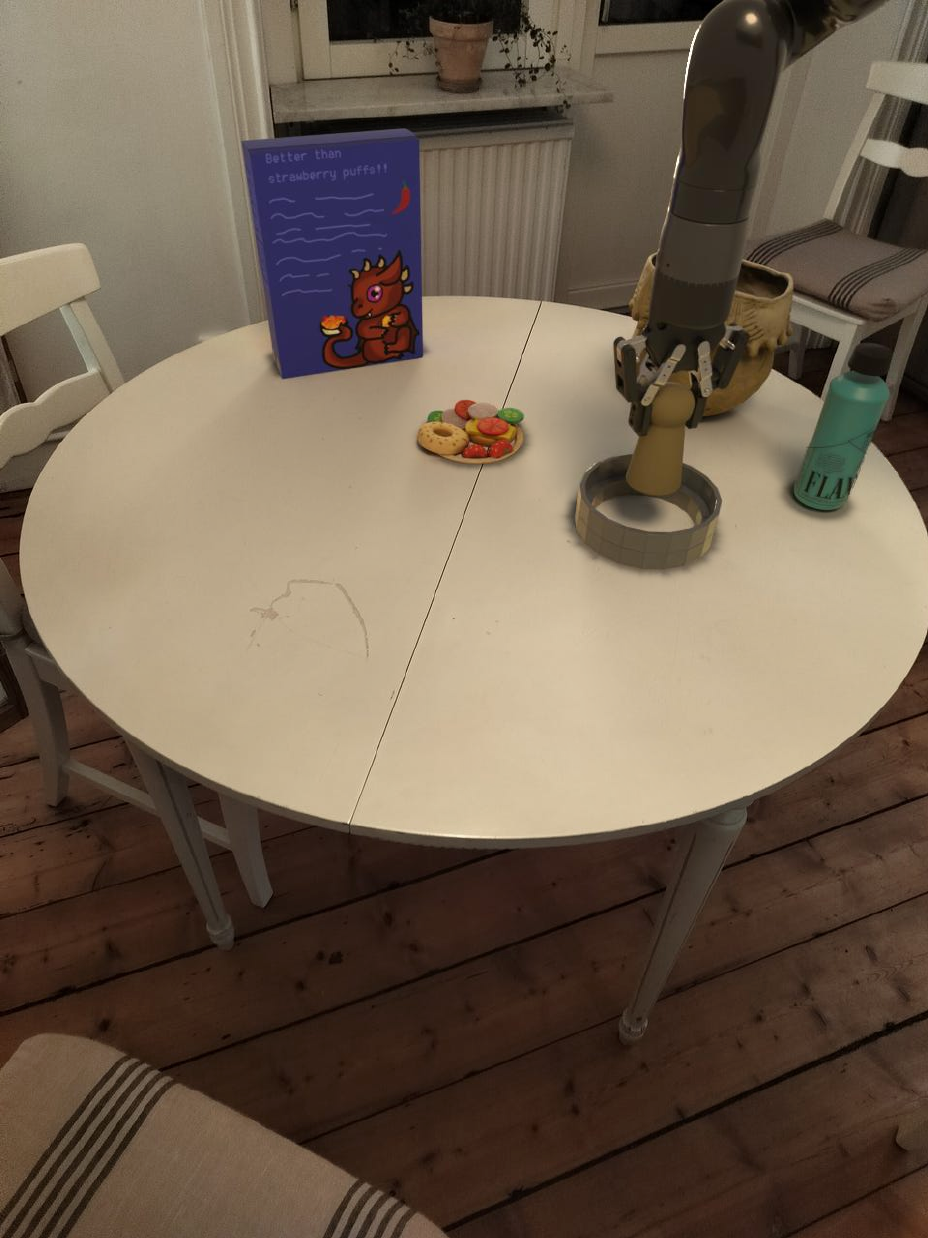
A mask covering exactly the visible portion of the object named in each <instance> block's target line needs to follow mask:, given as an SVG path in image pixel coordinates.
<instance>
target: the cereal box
mask: <svg viewBox="0 0 928 1238" xmlns="http://www.w3.org/2000/svg"><path fill="white" fill-rule="evenodd" d="M240 142H241V148H242V154H243V155H242V156H243V161H244V168H245V169H244V170H245V174H246V175H245V176H246V181H247V189H248V195H249V201H250V202H249V203H250V208H251V217H252V222H253V229H254V237H255V242H256V248H257V255H258V262H259V270H260V276H261V282H262V288H263V296H264V302H265V310H266V316H267V317H266V318H267V322H268V329H269V336H270V343H271V349H272V356H273V362H274V364H275V366H276V368H277V371H278V373H279V375H280V378H281V379H282V380H285V379H293V378H299V377H305V376H312V375H317V374H325V373H330V372H338V371H344V370H350V369H357V368H363V367H369V366H377V365H382V364H389V363H394V362H402V361H408V360H414V359H415V360H416V359H421V358H423V357H424V330H423V329H424V325H423V321H424V320H423V275H422V274H423V272H422V269H423V268H422V226H421V225H422V215H421V214H422V213H421V210H422V209H421V161H420V157H421V156H420V138H418V137H417V135H416V134H415V133H414V132H412V131H411V130H409V129H407V128H406V127H405V128H393V129H392V128H391V129H390V128H389V129H380V130H378V129H377V130H366V131H365V130H364V131H353V132H352V131H351V132H339V133H326V134H312V135H299V136H286V137H275V138H273V137H272V138H260V139H248V140H241V141H240Z"/></svg>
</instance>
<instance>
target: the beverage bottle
mask: <svg viewBox="0 0 928 1238" xmlns="http://www.w3.org/2000/svg"><path fill="white" fill-rule="evenodd" d="M893 357H894V353H893V351H892V350H891V348H889V347H887V346H885V345H882V344H880V343H876V342H875V343H873V342H862V343H859V344H856V346H854V348H853V351H852V353H851V355H850V356H849V359H848V362H847V367H848V368H849V369H850V370H849V371H847V372H843V373H841V374H838V375H837V376H835V377H834V378H832V379H831V380H830V382H829V385H828V390H827V393H826V396H825V398H824V401H823V404H822V407H821V411H820V413H819V415H818V419H817V422H816V425H815V427H814V431H813V433H812V436H811V439H810V442H809V444H808V446H807V447H806V450H805V453H804V456H803V459H802V461H801V463H800V465H799V468H798V473H797V475H796V476H795V479H794V485H793V493H794V496H795V497H796V499H797V500H798V501H799V502H801V503H802V504H804V505H806V506H808V507H810V508H813V509H817V510H824V511H833V510H836V509H839V508H842V507H843V506H844V505H845V504H846V503H847V501H848V500H849V497H850V496H851V492H852V491H853V489H854V487H855V484H856V482H857V480H858V478H859V475H860V472H861V471H862V467H863V464H864V463H865V461H866V460H865V459H866V458H867V457H866V455H868V453H867V452H868V450H869V448H870V445H871V444H872V442H873V440H874V437H875V435H876V432H877V431H878V428H879V426H880V425H879V424H880V423H879V422H880V421H881V419H882V413H883V411H884V409H885V406H886V404H887V401H888V400H889V399H890V395H891V393H890V389H889V388H888V386H887V384H886V383H885V381H884V380H883V378H881V377H882V376H885V375H887V374H888V373H889V371H890V368H891V364H892V361H893Z"/></svg>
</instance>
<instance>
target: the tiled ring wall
mask: <svg viewBox="0 0 928 1238" xmlns="http://www.w3.org/2000/svg"><path fill="white" fill-rule="evenodd" d="M632 456H633V453H629V454H622V455H621V454H620V455H615V456H611V457H609V458H605V459H603V460H601V461H598V462H595V463H594V464H593V465H592V466H590V467H589V468H588V469H587V470H586V471H585V472H584V473H583V475H582V478H581V479H580V482H579V484H578V492H577V500H576V501H577V502H576V507H575V514H574V522H575V530H576V533H578V536H579V537H580V538H581V541H582V542H583V544H585V545H586V546H587V547H589V548H590V549H591V550H592V551H594V552H595V553H596V554H597V555H599V556H600V557H603V558H605V559H606V560H609V561H612V562H614V563H616V564H618V565H622V566H627V567H629V568H630V567H631V568H634V569H635V568H636V569H640V570H660V571H662V570H670V569H675V568H681V567H684V566H687V565H689V564H691V563H693V562H695V561H697V560H699V559H701V558H702V557H703V555H705V553H706V552H707V551H708V550H709V549H710V547H711V545H712V541H713V538H714V534H715V531H716V528H717V524H718V520H719V516H720V513H721V508H722V504H723V499H722V497H721V493H720V490H719V487H718V486H717V485H716V484H715V483H714V482H713V481H712V480H711V478H709V476H707V475H706V474H704V473H703V472H701V470H698V468H695V467H694V466H692V465H690V464H687V463H684V462H683V465H682V478H681V485H680V488H679V489H678V490H677V491H676V492H674V493H671V494H668V495H661V496H658V495H649V494H644V493H641V492H639V491H637V490H635V489H634V488H632V487H631V486H630V485H629V484H628V482H627V481H626V474H627V471H628V468H629V465H630V462H631V459H632ZM625 496H644V497H649V498H655V499H659V500H662V501H665V502H667V503H670V504H672V505H675V506H676V507H678V508H679V509H681V510H682V511H684V512H685V513H686V514H687V516H689V518H691V520H692V521H693V523H694V526H692V527H689V528H685V529H679V530H673V531H651V530H649V531H648V530H644V529H639V528H635V527H632V526H631V527H630V526H627V525H624V524H622V523H619V522H618V521H615V520H613V519H611V518H608V517H607V516H606V515H605V514H603V513H601V512H600V510H598V509H597V507H598V506H600V505H601V504H602V503H604V502H607V501H609V500H611V499H614V498H619V497H625Z"/></svg>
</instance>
